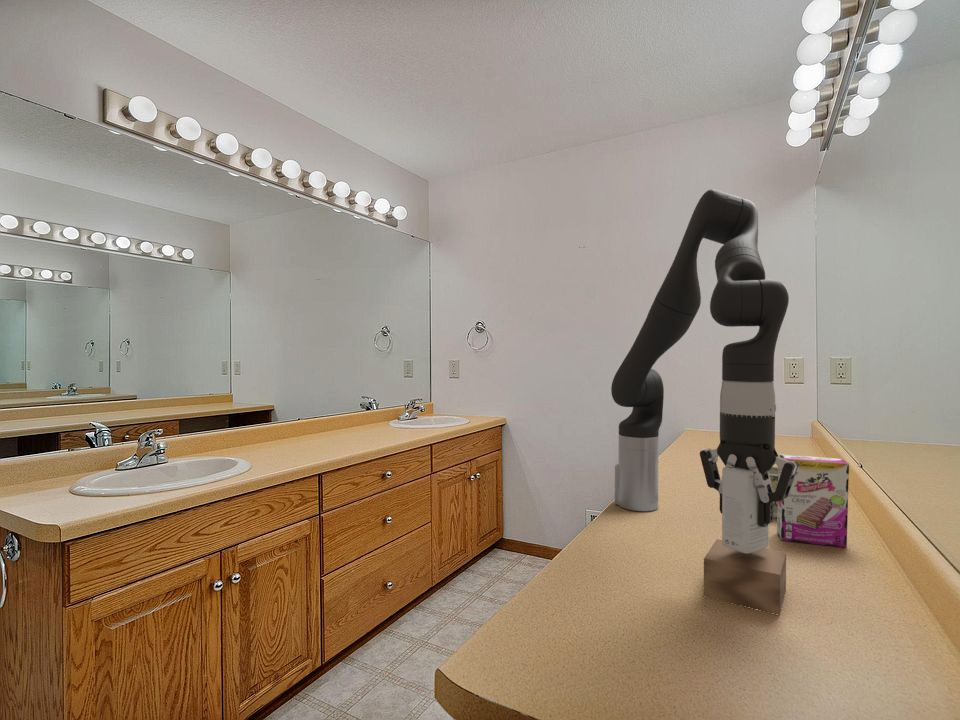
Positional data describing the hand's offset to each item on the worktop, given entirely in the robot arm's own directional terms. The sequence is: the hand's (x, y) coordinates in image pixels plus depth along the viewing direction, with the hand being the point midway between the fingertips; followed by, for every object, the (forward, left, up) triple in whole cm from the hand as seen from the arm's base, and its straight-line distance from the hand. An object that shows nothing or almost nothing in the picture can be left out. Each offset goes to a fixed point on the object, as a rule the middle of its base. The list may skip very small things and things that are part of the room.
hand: (745, 520), depth 79 cm
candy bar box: (0, +33, -11) cm, 35 cm away
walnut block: (0, 0, -11) cm, 11 cm away
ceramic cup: (-10, +47, -11) cm, 49 cm away
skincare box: (0, 0, -4) cm, 4 cm away
